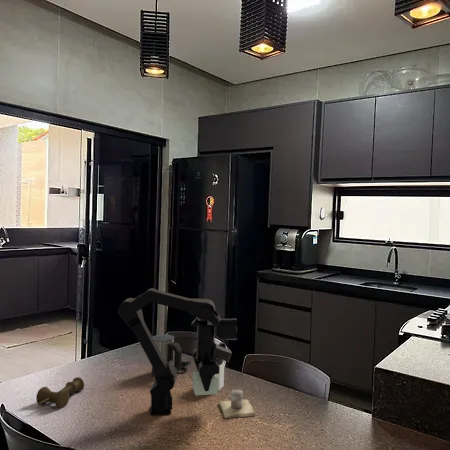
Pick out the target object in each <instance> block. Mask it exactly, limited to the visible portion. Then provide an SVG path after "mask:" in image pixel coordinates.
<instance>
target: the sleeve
mask: <svg viewBox="0 0 450 450" xmlns="http://www.w3.org/2000/svg"><path fill="white" fill-rule="evenodd" d="M191 384H192V389H193V392H194V393H193V394H194V396H206V395H209V396H210V395H218V394H219V391H218V377H217V375H216V374H215V375H214V376H213V377H212V380H211V384H210V387H209V391H205V389H204V387H203V384H202V381H201V378H200V375H199V372H198V370H195V371H194V370H193V371H192V383H191Z"/></svg>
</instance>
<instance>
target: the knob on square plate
mask: <svg viewBox="0 0 450 450" xmlns="http://www.w3.org/2000/svg"><path fill="white" fill-rule="evenodd" d="M230 392H231V393H230V394H231V395H230V396H231V397H230V399H231V400H223V401H222V400H220V401H218V402H219V403H218V404H219V405H218V406H219V408H220V410H221V412H222V414H223V417H224V418H225V419H226V418H243V417H254V416H255V417H256V412H255V409H254V408H253V406H252V405H251V403H250V401H249V400H248V399H244V398H243V397H244V396H243V395H244V394H243V393H244V391H243V390H240V389H233V390H231V391H230Z"/></svg>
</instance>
